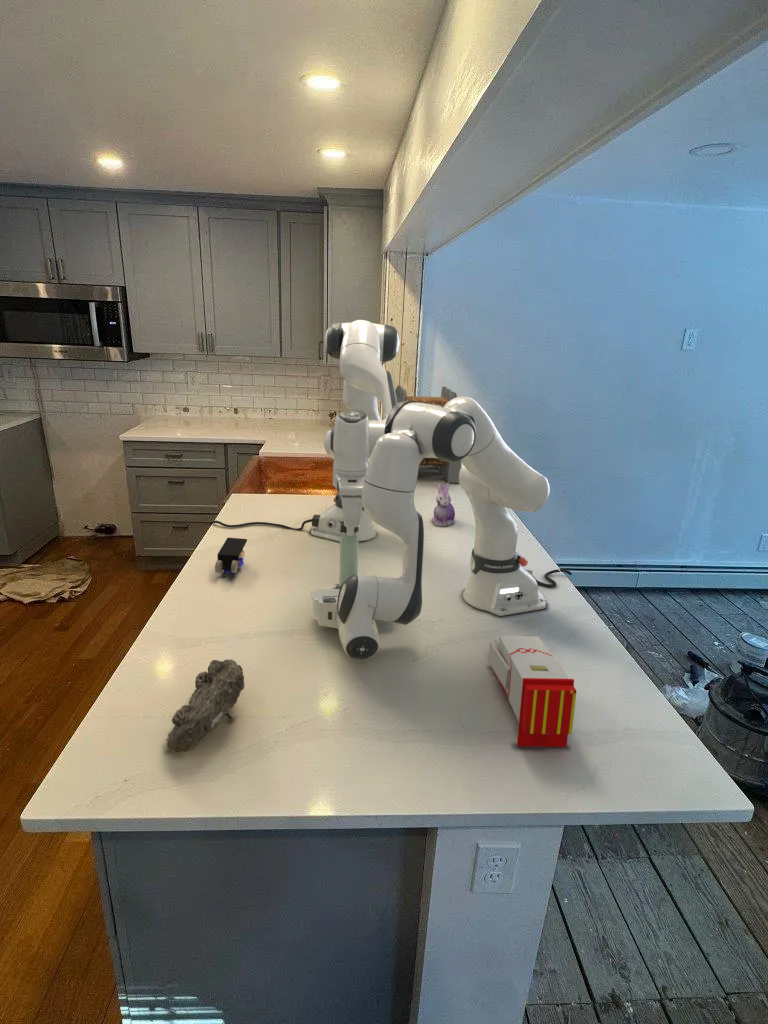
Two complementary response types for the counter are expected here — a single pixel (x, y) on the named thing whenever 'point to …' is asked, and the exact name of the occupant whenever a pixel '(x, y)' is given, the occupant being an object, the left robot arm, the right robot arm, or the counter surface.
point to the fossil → (206, 705)
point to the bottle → (348, 557)
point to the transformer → (444, 467)
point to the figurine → (443, 507)
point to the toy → (534, 690)
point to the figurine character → (230, 556)
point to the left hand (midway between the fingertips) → (349, 530)
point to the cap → (344, 529)
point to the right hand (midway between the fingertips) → (347, 585)
